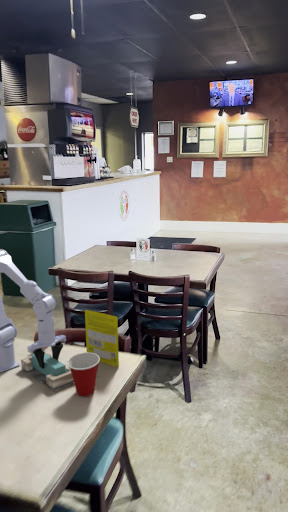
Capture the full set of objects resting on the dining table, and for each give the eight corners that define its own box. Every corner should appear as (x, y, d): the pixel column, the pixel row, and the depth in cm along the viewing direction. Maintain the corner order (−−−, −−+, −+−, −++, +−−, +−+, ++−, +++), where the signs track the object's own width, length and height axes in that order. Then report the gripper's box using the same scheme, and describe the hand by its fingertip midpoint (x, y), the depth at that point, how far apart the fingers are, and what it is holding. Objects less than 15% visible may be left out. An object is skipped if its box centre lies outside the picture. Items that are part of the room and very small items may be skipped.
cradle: (21, 369, 163) (21, 359, 162) (45, 360, 169) (44, 351, 169) (53, 391, 147) (53, 380, 146) (78, 380, 154) (77, 370, 153)
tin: (40, 354, 175) (39, 334, 173) (33, 353, 176) (31, 334, 174) (55, 339, 190) (54, 321, 188) (48, 339, 190) (47, 320, 188)
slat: (32, 366, 162) (31, 354, 161) (42, 363, 165) (41, 351, 164) (56, 382, 151) (55, 368, 150) (66, 378, 154) (65, 365, 153)
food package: (119, 366, 164) (118, 316, 159) (117, 368, 163) (116, 317, 158) (87, 357, 172) (85, 309, 167) (86, 358, 171) (83, 310, 167)
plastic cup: (61, 393, 146) (59, 359, 143) (86, 381, 154) (85, 349, 151) (82, 405, 139) (81, 370, 136) (107, 391, 146) (106, 358, 144)
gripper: (33, 338, 147) (36, 375, 150) (70, 326, 156) (71, 362, 159) (23, 332, 152) (26, 368, 155) (59, 321, 161) (61, 356, 164)
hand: (48, 365), depth 157 cm, fingers open, 5 cm apart
